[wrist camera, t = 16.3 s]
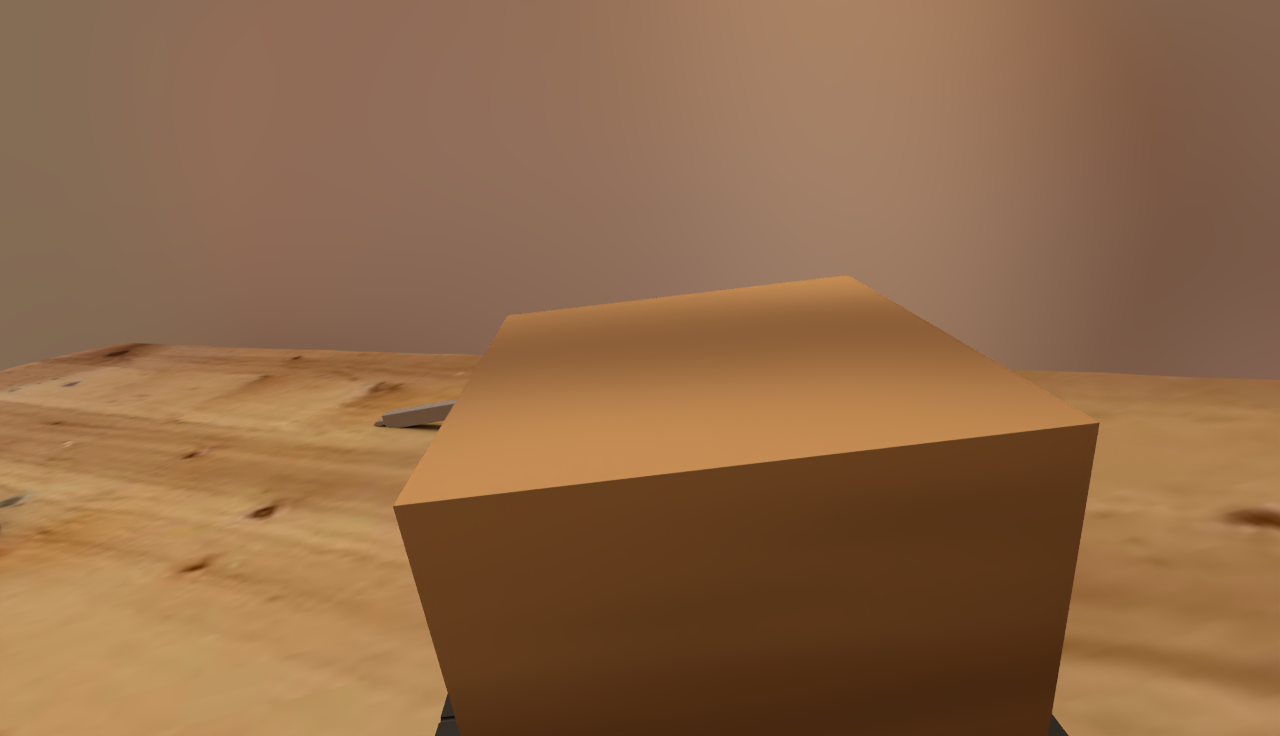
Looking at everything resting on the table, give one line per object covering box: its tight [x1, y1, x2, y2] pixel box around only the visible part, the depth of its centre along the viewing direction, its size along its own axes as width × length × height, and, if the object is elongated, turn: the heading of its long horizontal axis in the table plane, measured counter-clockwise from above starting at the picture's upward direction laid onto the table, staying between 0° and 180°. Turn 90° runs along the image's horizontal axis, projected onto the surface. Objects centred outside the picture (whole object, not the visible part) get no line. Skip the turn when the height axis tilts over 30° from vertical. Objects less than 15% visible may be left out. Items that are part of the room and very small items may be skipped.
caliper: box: [374, 400, 457, 428], centre depth 54 cm, size 20×1×6 cm, turn 71°
